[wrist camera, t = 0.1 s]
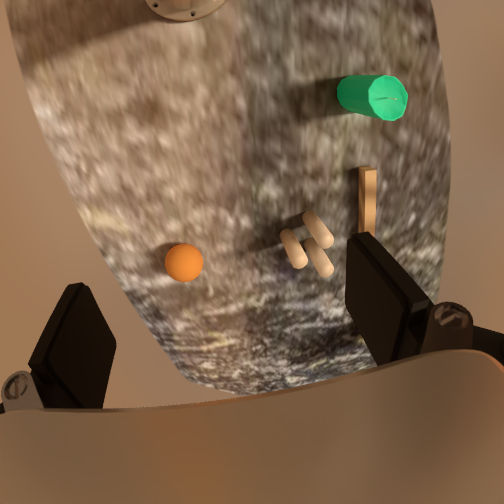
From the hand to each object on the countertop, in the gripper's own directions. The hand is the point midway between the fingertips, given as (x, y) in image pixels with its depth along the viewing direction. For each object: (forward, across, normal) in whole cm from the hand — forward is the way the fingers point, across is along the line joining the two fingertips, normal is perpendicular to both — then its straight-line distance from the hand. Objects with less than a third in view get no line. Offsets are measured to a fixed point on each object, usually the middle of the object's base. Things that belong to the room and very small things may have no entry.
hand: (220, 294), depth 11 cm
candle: (+37, -22, -4) cm, 43 cm away
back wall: (+37, -23, +18) cm, 47 cm away
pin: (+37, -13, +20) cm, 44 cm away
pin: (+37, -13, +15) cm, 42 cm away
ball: (+34, +8, +18) cm, 39 cm away
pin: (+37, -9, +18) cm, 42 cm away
